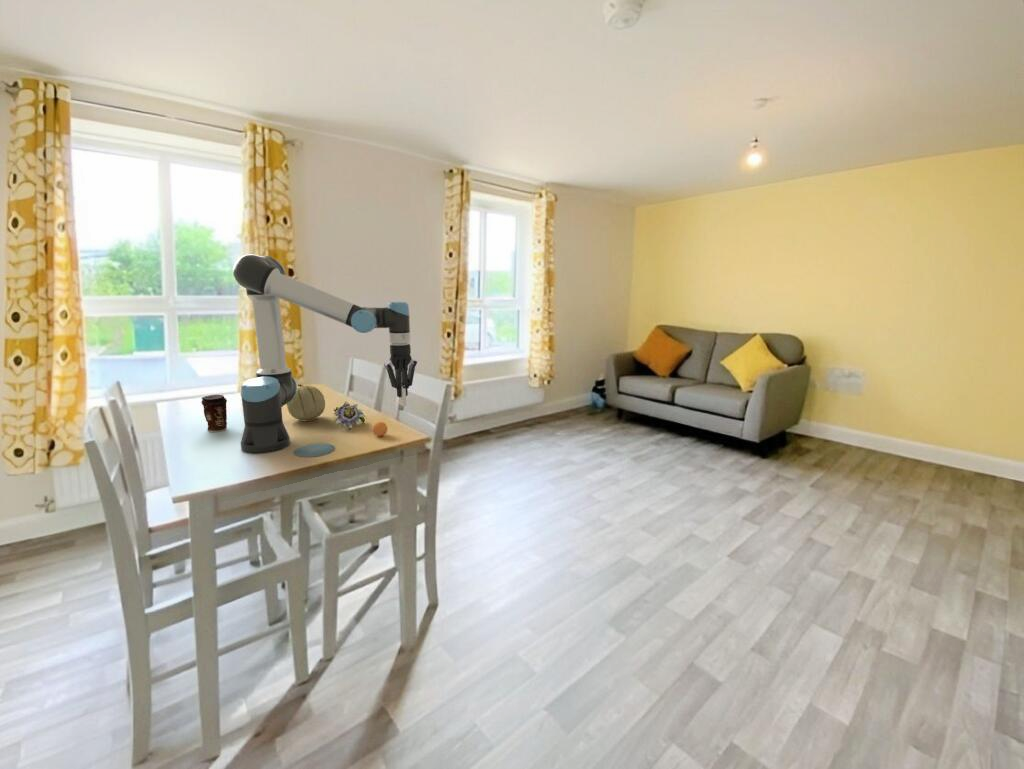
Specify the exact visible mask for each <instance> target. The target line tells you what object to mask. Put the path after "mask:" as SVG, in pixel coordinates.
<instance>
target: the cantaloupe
mask: <svg viewBox="0 0 1024 769" xmlns="http://www.w3.org/2000/svg"><path fill="white" fill-rule="evenodd" d="M286 408H287V411H288V413H289V414H290V415H291V417H293V418H294V419H296V420H298V421H303V422H310V421H313V420H315V419H316V418H318V417H320V416H322V414H323V413H324V411H325V408H326V400H325V396H324V395H323V392H322V391H321V390H320V389H319V388H317V387H316V386H312V385H303V384H301V383H300V384H297V391H296V394H295V396H294V397H293V399H292V400H291V401H290V402H289V403H287V404H286Z"/></svg>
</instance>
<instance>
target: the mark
mask: <svg viewBox="0 0 1024 769" xmlns="http://www.w3.org/2000/svg"><path fill="white" fill-rule="evenodd" d="M334 449H335V450H336V447H335V445H333V444H330V443H323V442H322V443H320V442H319V443H318V442H317V443H310V444H309V443H308V444H305V445H302V446H299V447H297V448H295V450H293V454H294V455H295V456H297V457H302V458H315V457H316V458H317V457H322V456H326V455H329V454H331V453H332V451H333V452H334V451H335V450H334ZM328 453H329V454H328ZM325 454H326V455H325Z"/></svg>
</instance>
